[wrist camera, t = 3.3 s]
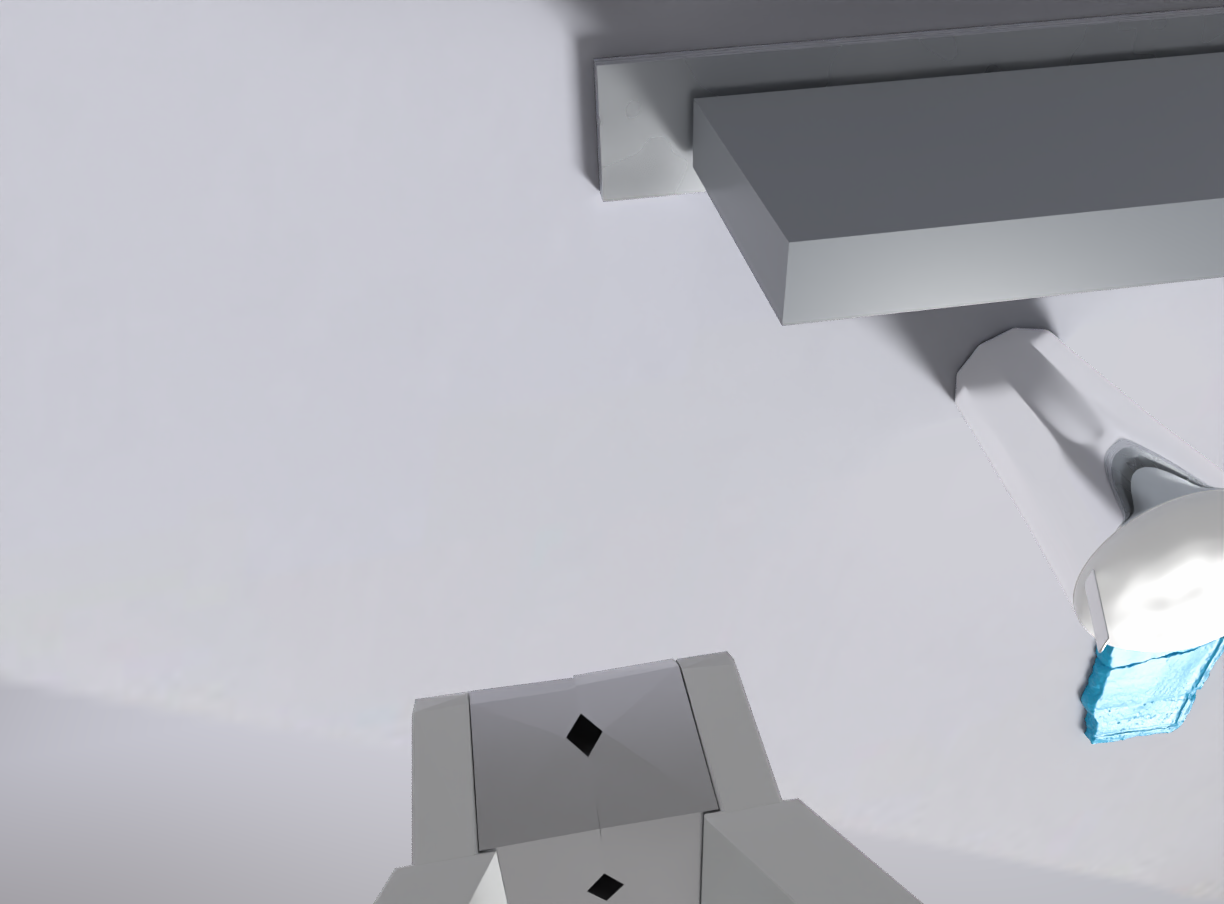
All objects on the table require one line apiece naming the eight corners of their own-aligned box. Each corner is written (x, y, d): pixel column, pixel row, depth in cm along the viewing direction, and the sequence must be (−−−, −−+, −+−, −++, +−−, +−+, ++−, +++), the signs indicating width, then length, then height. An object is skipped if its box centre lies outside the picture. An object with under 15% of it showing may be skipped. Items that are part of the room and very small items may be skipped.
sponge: (1040, 749, 39) (1182, 747, 39) (1146, 526, 32) (1318, 525, 32) (1026, 718, 40) (1164, 716, 41) (1125, 497, 33) (1292, 496, 33)
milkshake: (935, 298, 26) (1158, 562, 18) (1113, 308, 27) (1396, 560, 19) (883, 436, 28) (1056, 718, 21) (1046, 440, 29) (1270, 710, 22)
